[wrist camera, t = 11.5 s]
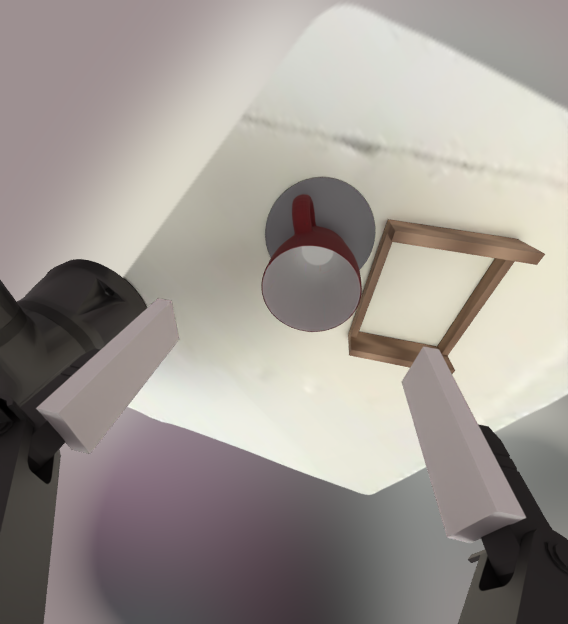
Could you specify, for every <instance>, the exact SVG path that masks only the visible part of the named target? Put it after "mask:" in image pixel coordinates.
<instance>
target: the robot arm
mask: <svg viewBox="0 0 568 624" xmlns="http://www.w3.org/2000/svg"><path fill="white" fill-rule="evenodd" d="M178 340H179V335H178V330H177V325H176V320H175V315H174V310H173V305H172V301H170V300H165V299H159V298H158V299H157V300H156V301H155V302H153V303H152V304H151V305H150V306H149V307H148V308H147V309H146V306H145V304H144V302H143V300H142V299H141V297H140V296H139V294H138V293H137V292H136V290H135V289H134V288H133V287H132V286H131V285H130V284H129V283H128V282H127V281H126V280H125V279H124V278H122V277H121V276H120V275H118V274H117V273H116V272H114V271H112V270H111V269H109V268H107V267H105V266H103V265H101V264H99V263H96V262H92V261H89V260H82V259H76V260H70V261H68V262H65V263H63V264H61V265H59V266H56V267H54V268H53V269H51V270H50V271H49V272H48V273H47V275H46V276H45V277H44V278H43V279H42V280H41V281H40V282H38V284H36V285H35V286H34V287H33V288H32V290H31V291H30V292H29V293H28V294H27V295H26V296H25V297H24V298H23V299H21V300H19V301H17V302H16V301H15V299H14V298H13V296H12V295H11V294H10V292H9V291H8V290H7V288H6V287H5V286H4V284H3V283H2V282H1V280H0V624H43V623H44V614H45V613H44V612H45V604H46V594H47V584H48V573H49V564H50V555H51V545H52V535H53V525H54V516H55V506H56V495H57V486H58V477H59V466H60V457H61V455H60V450H59V449H60V448H61V446H62V445H63V444H64V443H66V444H67V445H68V446H69V447H70V448H71V449H72V450H75V451H79V452H83V453H88V454H91V453H92V451H93V450H94V448H96V446H97V445H98V444H99V442H100V441H101V440H102V438H103V437H104V436H105V435H106V433H107V432H108V431H109V429H110V428H111V427H112V426H113V424H114V423H115V422H116V420H117V419H118V418H119V417H120V415H121V414H122V413H123V411H124V410H125V409H126V407H127V406H128V405H129V404H130V402H131V401H132V400H133V398H134V397H135V396H136V395H137V393H138V392H139V391H140V389H141V388H142V387H143V385H144V384H145V383H146V382H147V380H148V379H149V378H150V376H151V375H152V374H153V373H154V371H155V370H156V369H157V367H158V366H159V365H160V363H161V362H162V361H163V360H164V358H165V357H166V356H167V354H168V353H169V352H170V351H171V349H172V348H173V347H174V345H175V344H176V343H177V342H178ZM402 385H403V388H404V392H405V395H406V398H407V402H408V405H409V409H410V412H411V415H412V419H413V422H414V426H415V429H416V433H417V436H418V439H419V443H420V446H421V450H422V453H423V457H424V460H425V463H426V467H427V470H428V474H429V477H430V480H431V484H432V487H433V491H434V494H435V498H436V501H437V504H438V508H439V511H440V514H441V518H442V521H443V525H444V528H445V532H446V535H447V537H448V538H451V539H455V540H460V541H465V542H468V543H471V542H474V541H476V540H478V539H480V538H481V539H482V542H483V545H484V547H485V550H482V551H480V552H478V553H475V554H472V555H471V556H470V557H469V559H468V560H469V561H470V562H471V563H473V562H476V561H478V560H479V561H478V564H477V567H476V570H475V573H474V576H473V579H472V582H471V585H470V588H469V591H468V594H467V597H466V600H465V604H464V607H463V610H462V613H461V616H460V619H459V622H458V624H568V540H567V539H566V538H565V537H563V536H562V535H560V534H558V533H557V532H555V531H554V530H552V528H551V527H550V525H549V524H548V522H547V520H546V519H545V517H544V515H543V514H542V512H541V510H540V508H539V506H538V505H537V503H536V501H535V499H534V498H533V496H532V494H531V492H530V491H529V489H528V487H527V485H526V484H525V482H524V480H523V478H522V476H521V475H520V473H519V472H517V468H516V466H515V464H514V462H513V461H512V459H510V457H509V456H510V455H509V454H508V452H507V450H506V449H505V447H504V445H503V443H502V441H501V440H500V439H499V438H498V437H497V436H496V434H495V433H494V432H493V431H492V430H491V429H490V428H489V427H488V426H483V425H478V424H477V422H476V420H475V418H474V416H473V414H472V412H471V410H470V408H469V406H468V404H467V402H466V400H465V399H464V397H463V395H462V393H461V391H460V389H459V387H458V385H457V383H456V381H455V379H454V377H453V375H452V373H451V372H450V370H449V368H448V366H447V364H446V362H445V360H444V358H443V356H442V354H441V352H440V350H439V349H434V348H429V347H423V348H422V349H421V351H420V353H419V354H418V356H417V357H416V359H415V361H414V362H413V364H412V366H411V367H410V369H409V371H408V372H407V374H406V376H405V377H404V379H403V381H402Z"/></svg>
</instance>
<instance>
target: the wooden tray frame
mask: <svg viewBox="0 0 568 624" xmlns="http://www.w3.org/2000/svg"><path fill="white" fill-rule="evenodd" d="M392 242H397V243H403V244H410V245H416V246H422V247H429V248H435V249H441V250H447V251H454V252H460V253H466V254H472V255H479V256H485V257H491V258H495V260H494V261H493V263H492V264H491V266H490V267H489V269H488V270H487V272H486V273H485V275H484V276H483V278H482V279H481V281H480V282H479V284H478V286H477V287H476V289H475V290H474V292H473V293H472V295H471V296H470V298H469V299H468V301H467V302H466V304H465V305H464V307H463V308H462V310H461V311H460V313H459V315H458V316H457V318H456V319H455V321H454V322H453V324H452V325H451V327H450V328H449V330H448V331H447V333H446V334H445V336H444V337H443V339H442V340H441V342H440V344H439V345H438V347H436V346H431V345H426V344H420V343H415V342H410V341H405V340H400V339H394V338H389V337H384V336H379V335H374V334H368V333H363V332H359V330H360V327H361V324H362V322H363V319H364V316H365V314H366V311H367V308H368V306H369V303H370V300H371V298H372V295H373V292H374V290H375V287H376V284H377V282H378V279H379V276H380V274H381V271H382V268H383V266H384V263H385V260H386V258H387V255H388V252H389V250H390V247H391V244H392ZM544 255H545V254H544V253H542V252H541V251H539V250H537V249H535V248H533V247H531V246H529V245H528V244H526V243H524V242H522V241H520V240H518V239H514V238H507V237H501V236H494V235H488V234H481V233H474V232H468V231H461V230H455V229H448V228H441V227H435V226H428V225H422V224H415V223H408V222H402V221H395V220H389V219H388V221H387V224H386V227H385V229H384V232H383V235H382V238H381V241H380V244H379V247H378V250H377V253H376V256H375V259H374V262H373V264H372V267H371V270H370V273H369V276H368V279H367V282H366V285H365V288H364V291H363V294H362V296H361V299H360V302H359V305H358V308H357V311H356V314H355V317H354V320H353V323H352V326H351V328H350V331H349V334H348V342H349V355H350V356H355V357H360V358H365V359H370V360H375V361H380V362H385V363H390V364H395V365H400V366H405V367H411V366H412V364H413V362H414V361H415V359H416V357H417V356H418V354H419V353H420V351H421V349H422V348H423V347H429V348H434V349H439V350H440V352H441V354H442V356H443V358H444V360H445V362H446V364H447V366H448V368H449V370H450V372H451V373H452V374H453V372H454V371H455V369H454V367H453V365H452V364H451V362H450V360H449V358H448V354H449V353H450V352H451V350H452V349H453V347H454V346H455V345H456V343H457V342H458V340H459V339H460V338H461V336H462V335H463V333H464V332H465V331H466V329H467V328H468V326H469V325H470V324H471V322H472V321H473V319H474V318H475V317H476V315H477V314H478V312H479V311H480V309H481V308H482V307H483V305H484V304H485V302H486V301H487V300H488V298H489V297H490V295H491V294H492V293H493V291H494V290H495V288H496V287H497V286H498V284H499V283H500V281H501V280H502V279H503V277H504V276H505V274H506V273H507V271H508V270H509V269H510V267H511V266H512V264H513V263H514V262H515V261H516V262H523V263H529V264H535V265H537V264H538V263H539V262H540V260H541V259H542V258H543V256H544Z"/></svg>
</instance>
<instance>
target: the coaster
mask: <svg viewBox="0 0 568 624" xmlns="http://www.w3.org/2000/svg"><path fill="white" fill-rule="evenodd" d="M301 194H307V195H309V196H310V197H311V198H312V201H313V205H314V212H315V222H316V226H319V227H324V228H327V229H330V230H332V231H334V232H335V233H337V234H338V235H339V236H340V237H341V238H342V239H343V240H344V242H345V243H346V245H347V246H348V247H349V249H350V250H351V252H352V253H353V255H354V257H355V259H356V261H357V263H358V267H359V270H360V269H361V268H362V266H363V265H364V264H365V262H366V261H367V259H368V257H369V256H370V253H371V251H372V248H373V245H374V241H375V222H374V217H373V214H372V211H371V209H370V207H369V205H368V203H367V201H366V200H365V198H364V197H363V196H362V195H361V194H360V193H359V191H357V190H356V189H355V188H354V187H352V186H351V185H349V184H347V183H346V182H343V181H341V180H338V179H334V178H329V177H316V178H310V179H306V180H303V181H301V182H298V183H297V184H295V185H293V186H291V187H290V188H289V189H287V190H286V191H285V192H284V193H283V194H282V195H281V196H280V197H279V198H278V199H277V201H276V202H275V203H274V205H273V207H272V209H271V211H270V213H269V216H268V219H267V223H266V230H265V238H266V245H267V249H268V252H269V254H270V257H271V258H272V256H273V254H274V253H275V252H276V250H277V249H278V248H279V247H280V246H281V245H282V244H283V243H284V242H285V241H287V240H288V239H289V238H291V237H292V236H293V235H294V234H295V233H294V227H293V220H292V203H293V200H294V198H295V197H297V196H298V195H301Z"/></svg>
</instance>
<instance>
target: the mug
mask: <svg viewBox="0 0 568 624" xmlns="http://www.w3.org/2000/svg"><path fill="white" fill-rule="evenodd" d="M292 220H293V227H294V233H295V234H294V235H293V236H292V237H291V238H289V239H288V240H287V241H285V242H284V243H283V244H282V245H281V246H280V247H279V248H278V249H277V250H276V252H275V253H274V254H273V256H272V258H271V259H270V261H269V263H268V265H267V267H266V269H265V272H264V274H263V278H262V295H263V299H264V301H265V304H266V306H267V307H268V309H269V310H270V312H271V313H272V314H273V315H274V316H275V317H276V318H277V319H278V320H279V321H281V322H282V323H284V324H286V325H287V326H289V327H292V328H294V329H297V330H301V331H308V332H319V331H325V330H329V329H332V328H335V327H337V326H339V325H341V324H342V323H344V322H345V321H346V320H348V319H349V318H350V317H351V316H352V315H353V313H354V312H355V310H356V309H357V307H358V305H359V302H360V298H361V291H362V288H361V277H360V271H359V267H358V263H357V261H356V259H355V257H354V255H353V253H352V252H351V250H350V249H349V247H348V246H347V245H346V243H345V242H344V240H343V239H342V238H341V237H340V236H339V235H338V234H337V233H335V232H334V231H332V230H330V229H327V228H324V227H319V226H316V222H315V212H314V205H313V201H312V198H311V197H310V196H309V195H307V194H301V195H298V196H297V197H295V198H294V200H293V203H292Z"/></svg>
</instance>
